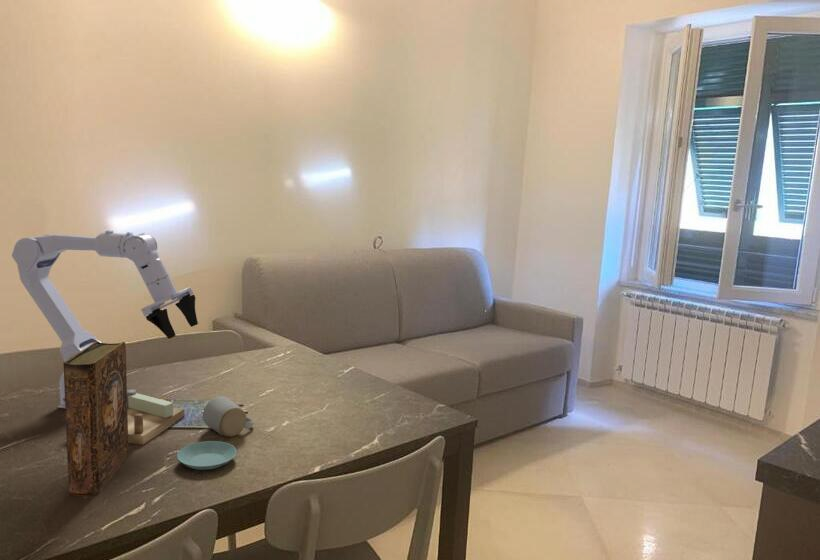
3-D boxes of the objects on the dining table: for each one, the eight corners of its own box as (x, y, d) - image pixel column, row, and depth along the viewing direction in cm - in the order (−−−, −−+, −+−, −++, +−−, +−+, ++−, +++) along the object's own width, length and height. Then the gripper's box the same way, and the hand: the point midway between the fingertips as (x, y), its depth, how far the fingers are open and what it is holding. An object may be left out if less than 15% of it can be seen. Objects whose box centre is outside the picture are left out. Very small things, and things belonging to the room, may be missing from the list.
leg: (120, 406, 153) (120, 392, 152) (130, 402, 155) (130, 388, 155) (164, 418, 147) (164, 404, 146) (174, 414, 149) (174, 400, 149)
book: (96, 496, 116) (92, 365, 111) (65, 496, 115) (60, 364, 111) (128, 456, 132) (125, 340, 128) (101, 456, 131) (97, 340, 127)
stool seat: (74, 435, 140) (73, 409, 139) (121, 408, 157) (121, 385, 156) (143, 444, 137) (142, 418, 136) (184, 416, 154) (184, 393, 153)
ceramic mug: (220, 442, 141) (220, 409, 140) (201, 430, 146) (202, 399, 145) (260, 430, 148) (261, 399, 147) (241, 420, 154) (242, 390, 153)
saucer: (246, 455, 136) (246, 445, 135) (218, 480, 124) (218, 469, 124) (197, 447, 138) (197, 437, 138) (165, 471, 127) (165, 460, 126)
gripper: (144, 285, 144) (171, 338, 146) (189, 267, 156) (214, 316, 158) (126, 294, 147) (153, 346, 149) (172, 275, 160) (196, 323, 161)
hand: (183, 331), depth 154 cm, fingers open, 7 cm apart
